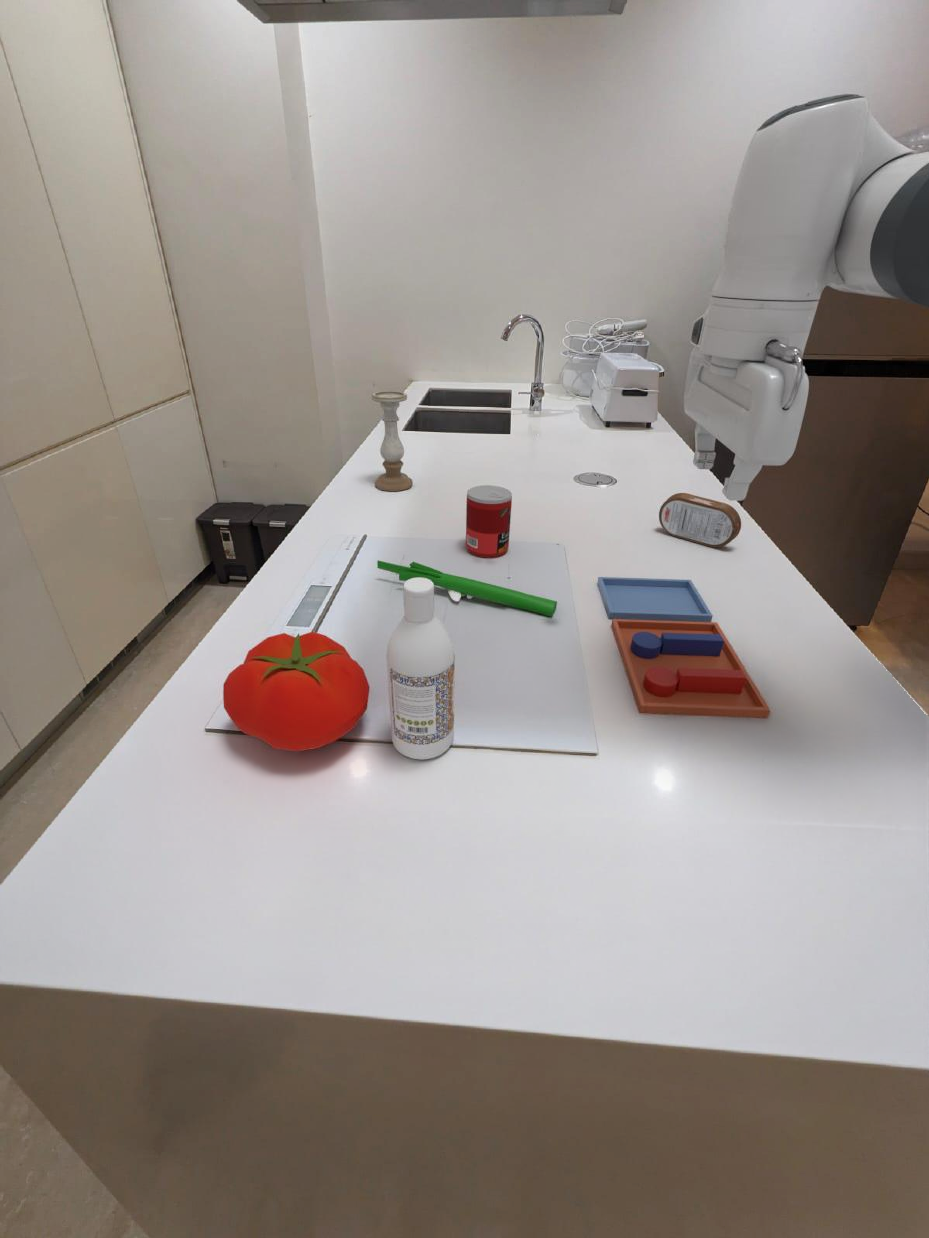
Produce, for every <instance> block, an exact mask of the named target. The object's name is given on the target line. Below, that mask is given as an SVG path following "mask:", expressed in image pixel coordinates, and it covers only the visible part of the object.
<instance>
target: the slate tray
mask: <svg viewBox="0 0 929 1238" xmlns="http://www.w3.org/2000/svg"><path fill="white" fill-rule="evenodd" d="M597 577H598V578H597V582H596V583H597V588H598V590H599V593H600V596H601V599H602V602H603V603H602V604H603V607H604V608H605V612H606V615H607V618H608V620H612V619H630V620H659V621H688V622H712V619H713V614H712V612H711V610H710V609H709V607H708V605H707V604H706V603H705V600H704V599H703V597H702V596H701V594H700V592H699V591H698V589H697V588H696V586H695V584H694V583H693V580H691V579H679V578H678V579H677V578H676V579H675V578H644V577H642V578H641V577H618V576H617V577H616V576H615V577H614V576H597Z"/></svg>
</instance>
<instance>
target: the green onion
mask: <svg viewBox="0 0 929 1238" xmlns="http://www.w3.org/2000/svg"><path fill="white" fill-rule="evenodd" d="M376 565H377V567H376V568H377V569H378V570H383V571H385V572H386V571H387V572H389V573H394V574H398V580H399V581H401V582H406V581H407V580H409V579H411V578H418V577H420V578H427V579H429V580H431V581H432V582H433V584H434V587H440V588H443V589H446V590H448V591H447V593H448V595H449V596H450V598H451V600H453V601H454V602H459V601H461V598H462V597H463V598H465V597H466V599H468V600H469V599H470V600H471V599H472V598H478V599H482V600H485V601H489V602H493V603H497V604H500V605H503V606H507V607H512V608H516V609H520V610H524V611H528V612H532V613H536V614H539V615H542V616H547V617H549V618H552V617H553V616H554V614H555V612H556V609H557V606H558V601H557V600H553V599H549V598H545V597H542V596H541V597H540V596H536V595H533V594H529V593H525V592H523V591H518V590H514V589H510V588H507V587H503V586H499V585H496V584H491V583H487V582H483V581H480V580H475V579H471V578H467V577H463V576H458V575H453V574H449V573H445V572H442V571H441V570H438V569H435V568H432V567H430V566H427V565H424V564H421V563H419V562H415V561H412V562H411V563H410V564H409V566H405V565H400V564H396V563H391V562H387V561H383V560H376Z"/></svg>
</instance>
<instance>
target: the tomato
mask: <svg viewBox="0 0 929 1238" xmlns="http://www.w3.org/2000/svg"><path fill="white" fill-rule="evenodd" d="M222 687H223V689H222V694H223V695H222V696H223V697H222V699H223V709H224V710H225V712H226V714H227V715H228V717H229V718H230V720H231V721H232V722H233V724H234V725H235V726H236V728H237V729H238V730H240V731H241V732H242V733H243V734H245V735H247V736H250V737H253V738H256V739H260V740H262V741H263V742H265V743H267V744H268V745H270V746H271V747H272V748H274V749H275V750H283V751H284V750H285V751H290V752H291V751H293V752H301V751H307V750H313V749H318V748H321V747H323V746H326V745H329V744H331V743H333V742H335V741H337V740H339V739H341V738H342V737H343V736H345V735H346V734H348V733H349V732H350V731H352V730H353V729H354V727H356V725H357V724H358V722H359V721H360V719H361V718H362V717H363V716H364V714H365V712H366V711H367V709H368V703H369V696H370V684H369V681H368V678H367V675H366V673H365V671H364V668H363V667H362V666H361V665H360V664H359V663H358V661H357V660H354V659H353V658H352V656H351V655H350V654H349V652H348V651H347V649H346V648H345V646H343V645H342V644H340V643H339V642H337V641H335V640H334V639H332V638H330V637H329V636H328V635H326V634H322V633H319V632H316V631H310V632H306V633H304V634H300V633H298V634H297V635H296V636H293V635H291V634H288V633H285V632H282V633H278V634H275V635H271V636H269V637H268V636H267V637H265V639H263V640H262V641H261V642H259V643H258V644H256V645H255V646H254V647H251V649H249V650H248V652H247V654H246V656H245V659H244V661H243V663H241V664H239V665H238V666H237V667H236V668H234V669H233V670H232V671H230V673H228V675H227V677H226V679H225V680H224V682H223V686H222Z"/></svg>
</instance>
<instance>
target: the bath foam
mask: <svg viewBox="0 0 929 1238" xmlns="http://www.w3.org/2000/svg"><path fill="white" fill-rule="evenodd" d="M402 591H403V592H402V593H403V612H404V615H403V617H402V618H401V620H400V621H399V622H398V623H397V625H396V626H395V628H394V629H393V631H392V633H391V635H390V637H389V640H388V642H387V648H386V672H387V685H388V687H387V689H388V700H389V714H390V716H389V717H390V729H391V740H392V745H393V746H394V748H395V749H396V750H397V752H398V753H400V754H401V755H403V756H405V757H407V758H410V759H413V760H429V759H430V760H431V759H434V758H437V757H439V756H441V755H442V754H444V753H445V752H447V751H448V750H449V748H450V747H451V746H452V744H453V741H454V736H455V735H454V734H455V733H454V732H455V667H456V665H455V660H456V659H455V656H456V655H455V649H454V643H453V640H452V638H451V636H450V635H451V634H449V632H448V630H447V628H446V627H445V626H444V624H443V623H442V622H441V621H440V619H439V618H438V617H437V616H436V615H435V585H434V584H433V582H432V581H431V580H429V579H427V578H420V577H418V578H411V579H409V580H407V581H404V583H403V586H402Z"/></svg>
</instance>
